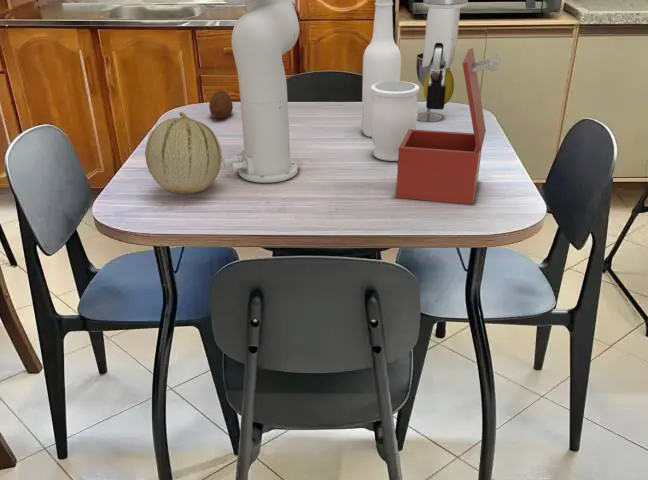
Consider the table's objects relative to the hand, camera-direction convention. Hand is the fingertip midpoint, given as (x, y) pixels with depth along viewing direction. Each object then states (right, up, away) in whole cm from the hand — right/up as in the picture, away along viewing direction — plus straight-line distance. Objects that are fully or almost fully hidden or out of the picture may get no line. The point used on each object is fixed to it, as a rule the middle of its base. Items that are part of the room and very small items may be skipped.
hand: (437, 103), depth 126 cm
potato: (-48, +16, +54) cm, 74 cm away
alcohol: (-7, +7, +40) cm, 41 cm away
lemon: (0, -1, +1) cm, 1 cm away
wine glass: (+6, +14, +50) cm, 52 cm away
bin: (+2, -14, +9) cm, 17 cm away
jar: (-6, -2, +27) cm, 27 cm away
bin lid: (+6, 0, -2) cm, 6 cm away
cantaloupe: (-49, -14, +11) cm, 52 cm away
